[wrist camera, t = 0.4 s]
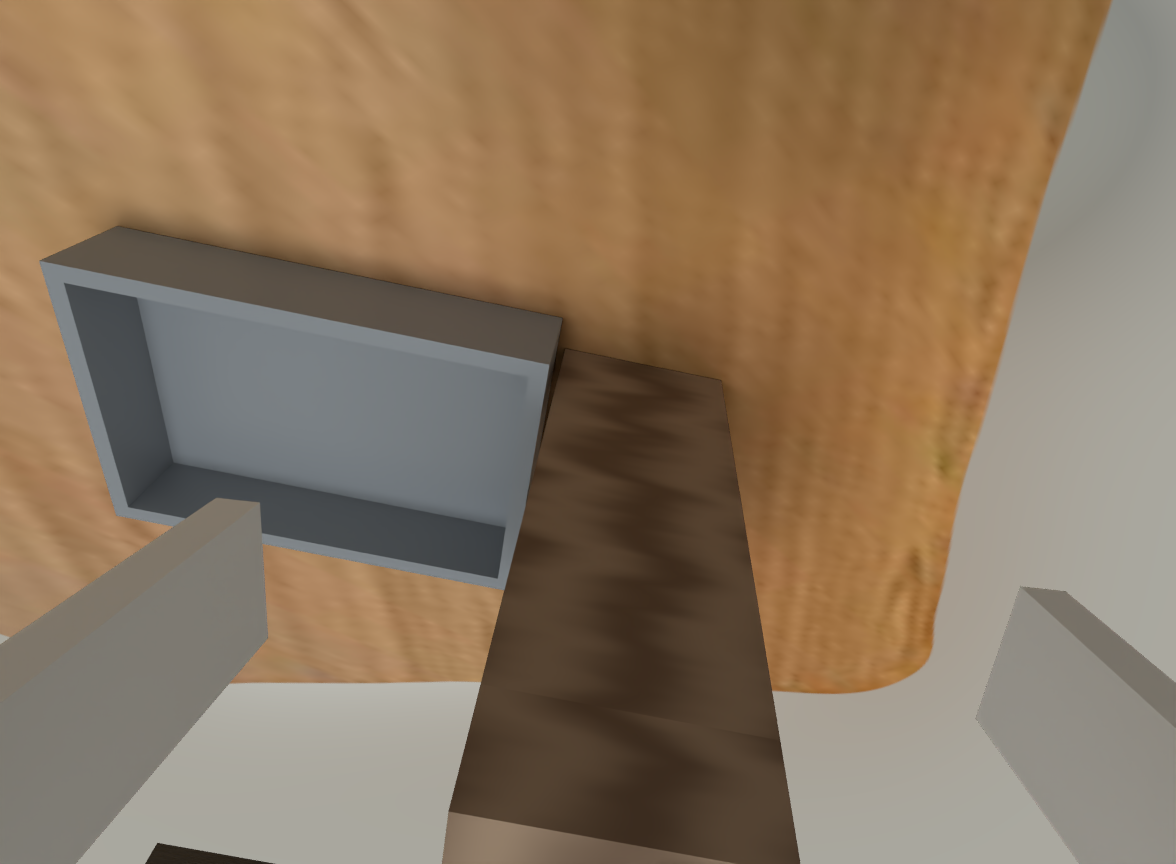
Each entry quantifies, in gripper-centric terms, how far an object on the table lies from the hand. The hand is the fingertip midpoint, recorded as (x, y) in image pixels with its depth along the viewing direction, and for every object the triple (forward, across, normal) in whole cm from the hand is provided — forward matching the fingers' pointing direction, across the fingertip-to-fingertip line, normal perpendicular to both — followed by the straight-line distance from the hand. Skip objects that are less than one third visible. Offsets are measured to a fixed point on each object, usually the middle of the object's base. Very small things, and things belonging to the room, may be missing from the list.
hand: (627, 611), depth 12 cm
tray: (+32, -18, -7) cm, 38 cm away
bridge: (+33, +1, -8) cm, 34 cm away
